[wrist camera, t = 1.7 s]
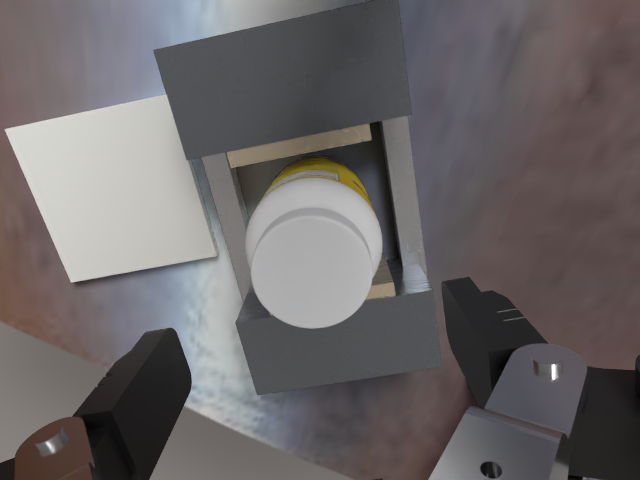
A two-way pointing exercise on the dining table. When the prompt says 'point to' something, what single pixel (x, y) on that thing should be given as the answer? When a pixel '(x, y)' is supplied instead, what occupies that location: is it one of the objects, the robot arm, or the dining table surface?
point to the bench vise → (299, 138)
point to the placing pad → (115, 189)
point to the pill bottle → (313, 244)
